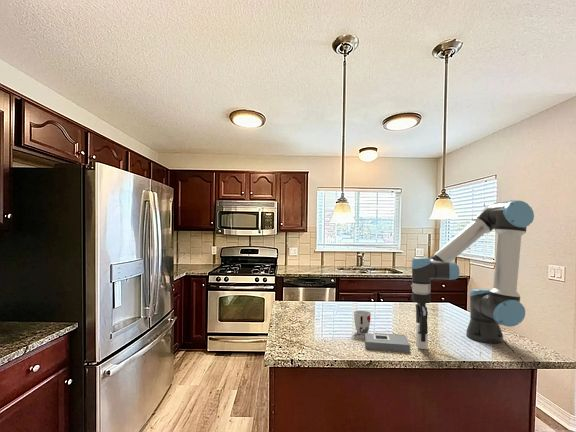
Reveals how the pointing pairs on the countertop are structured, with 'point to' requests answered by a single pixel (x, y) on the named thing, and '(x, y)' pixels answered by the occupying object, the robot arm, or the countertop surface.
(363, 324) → the cup
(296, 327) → the countertop surface
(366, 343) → the plate
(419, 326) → the block
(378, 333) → the phone
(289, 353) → the countertop surface
